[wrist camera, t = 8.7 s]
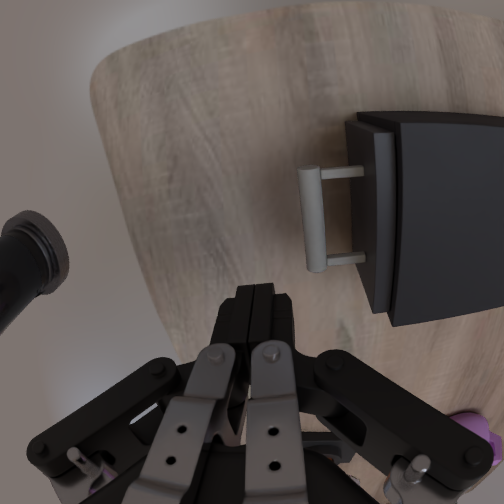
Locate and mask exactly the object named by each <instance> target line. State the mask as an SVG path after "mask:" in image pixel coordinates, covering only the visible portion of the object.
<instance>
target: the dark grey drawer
mask: <svg viewBox="0 0 504 504" xmlns="http://www.w3.org/2000/svg"><path fill="white" fill-rule="evenodd" d="M345 126H346V136H347V147H348V159H349V166H341V167H329V168H320V167H319V166H318V165H303V166H300V167H298V168H297V176H298V185H299V193H300V202H301V212H302V221H303V231H304V242H305V253H306V264H307V269H308V271H310V272H313V273H319V272H323V271H325V270H326V268H327V266H333V265H343V264H353V263H355V264H356V267H357V270H358V273H359V275H360V278H361V281H362V284H363V287H364V289H365V292H366V295H367V298H368V301H369V304H370V307H371V310H372V313H373V314H376V313H383V312H389V311H390V303H391V293H392V283H393V271H394V273H395V260H396V244H397V218H398V170H397V144H396V135H394V132H392V131H389V130H386V129H384V128H381V127H378V126H375V125H372V124H369V123H366V122H363V121H360V120H359V121H345ZM345 177H350V188H351V208H352V240H353V252H351V253H341V254H331V255H326V238H325V223H324V210H323V197H322V186H321V179H333V178H345Z"/></svg>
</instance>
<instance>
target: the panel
mask: <svg viewBox="0 0 504 504" xmlns="http://www.w3.org/2000/svg"><path fill="white" fill-rule="evenodd" d="M301 434H302V444H303V448H307V449H311V450H314V451H316V452H319V453H321V454H323V455H325V456H326V457H328V458H331V459H332V461H333V462H334V463H335V464H336V465H338V464H340V463H349V462H350V461H351V459H352V458H353V456H354V455H355V453H356V452H355V451H354V450H353V449H352V448H351V447H349V446H348V445H347V444H346V443H345V442H343V441H342V440H341V439H340V438H339V437H337V436H336V435H335V434H334V433H333V432H301Z"/></svg>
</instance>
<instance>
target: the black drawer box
mask: <svg viewBox="0 0 504 504" xmlns="http://www.w3.org/2000/svg"><path fill="white" fill-rule="evenodd" d="M357 117H358V121H359V120H360V121H363V122H366V123H369V124H372V125H375V126H378V127H381V128H384V129H386V130H389V131H392V132H394V135H396V144H397V170H398V218H397V244H396V260H395V273H394V271H393V283H392V293H391V303H390V311H389V312H387V314H388V317H389V319H390V322H391V325H392V327H397V326H403V325H410V324H416V323H422V322H428V321H434V320H439V319H445V318H450V317H455V316H461V315H466V314H470V313H475V312H480V311H484V310H489V309H493V308H498V307H502V306H504V117H497V116H488V115H478V114H466V113H450V112H427V111H373V112H357Z"/></svg>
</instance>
